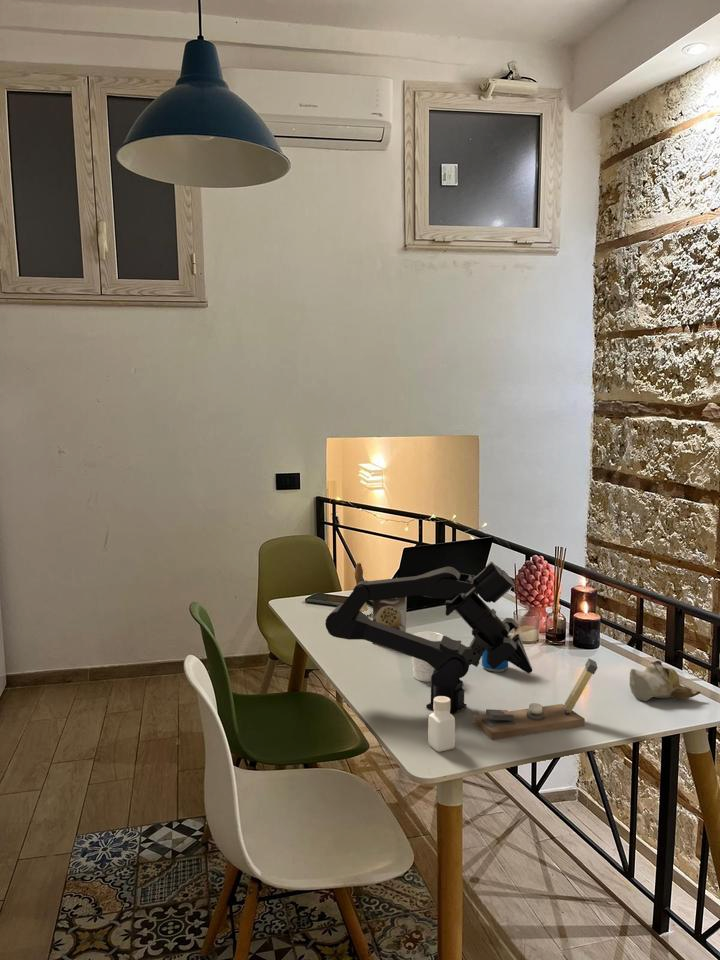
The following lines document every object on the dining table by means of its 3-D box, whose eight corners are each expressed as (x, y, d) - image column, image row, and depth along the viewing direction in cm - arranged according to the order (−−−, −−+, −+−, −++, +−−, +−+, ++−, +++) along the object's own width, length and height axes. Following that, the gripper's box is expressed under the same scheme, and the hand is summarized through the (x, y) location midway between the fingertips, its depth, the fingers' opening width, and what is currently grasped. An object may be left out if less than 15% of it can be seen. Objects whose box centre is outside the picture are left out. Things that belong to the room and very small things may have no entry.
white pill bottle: (437, 753, 139) (438, 704, 138) (427, 744, 143) (427, 697, 142) (455, 749, 141) (456, 701, 140) (444, 740, 145) (445, 693, 144)
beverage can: (489, 661, 189) (490, 615, 188) (512, 667, 185) (513, 620, 184) (476, 668, 184) (477, 621, 183) (500, 674, 180) (501, 626, 179)
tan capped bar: (562, 712, 153) (590, 664, 151) (562, 705, 157) (588, 658, 154) (569, 716, 153) (597, 667, 151) (569, 709, 156) (596, 661, 154)
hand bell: (372, 610, 237) (373, 560, 235) (369, 617, 229) (369, 566, 227) (347, 609, 238) (347, 560, 236) (343, 616, 230) (342, 565, 228)
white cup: (409, 671, 182) (409, 631, 181) (441, 671, 182) (442, 631, 182) (412, 683, 175) (412, 641, 174) (445, 683, 175) (446, 641, 174)
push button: (526, 709, 153) (526, 704, 153) (537, 708, 154) (537, 702, 154) (533, 714, 151) (533, 709, 150) (544, 713, 151) (544, 707, 151)
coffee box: (371, 644, 203) (372, 586, 201) (374, 636, 209) (374, 580, 208) (405, 645, 202) (405, 587, 200) (406, 638, 208) (407, 581, 207)
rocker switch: (485, 714, 150) (486, 708, 150) (505, 714, 152) (506, 709, 152) (491, 719, 147) (493, 713, 147) (512, 720, 149) (513, 714, 149)
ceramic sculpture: (617, 654, 169) (672, 652, 173) (613, 690, 170) (668, 688, 174) (648, 670, 159) (705, 668, 163) (643, 709, 160) (701, 706, 164)
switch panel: (473, 723, 152) (473, 713, 152) (561, 710, 159) (562, 700, 159) (492, 740, 145) (492, 729, 145) (584, 725, 151) (584, 715, 151)
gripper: (455, 627, 168) (504, 679, 166) (446, 654, 150) (500, 713, 148) (492, 596, 165) (541, 648, 164) (487, 619, 147) (542, 678, 146)
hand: (530, 671), depth 156 cm, fingers closed
